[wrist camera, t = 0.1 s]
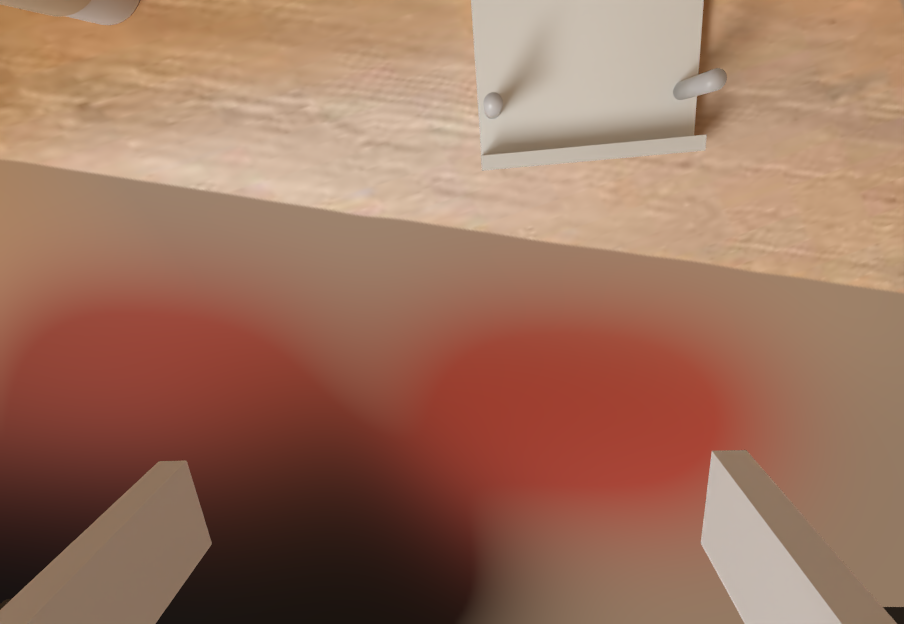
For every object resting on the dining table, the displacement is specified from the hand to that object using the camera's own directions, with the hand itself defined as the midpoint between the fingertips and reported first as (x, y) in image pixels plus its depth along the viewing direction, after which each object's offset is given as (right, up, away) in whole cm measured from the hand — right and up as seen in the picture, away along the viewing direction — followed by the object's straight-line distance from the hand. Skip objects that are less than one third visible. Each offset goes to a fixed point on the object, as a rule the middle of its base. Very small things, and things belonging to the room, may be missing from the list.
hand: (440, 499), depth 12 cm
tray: (+9, +26, +20) cm, 34 cm away
